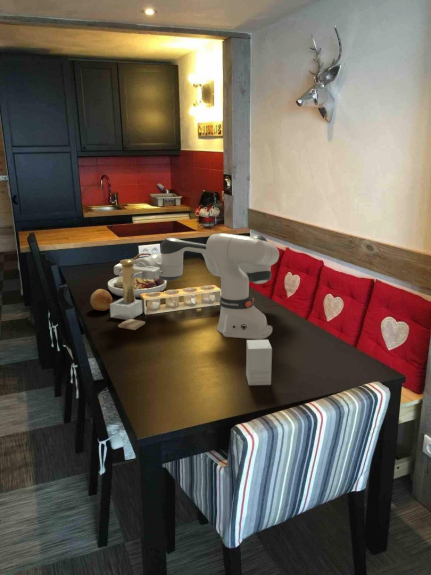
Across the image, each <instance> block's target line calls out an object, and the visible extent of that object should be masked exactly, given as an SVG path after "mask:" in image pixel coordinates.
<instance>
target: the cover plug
mask: <svg viewBox="0 0 431 575" xmlns="http://www.w3.org/2000/svg"><path fill="white" fill-rule="evenodd" d="M119 264H121V265H122V277H123V296H124V297H123V298H124V302H125V303H132V302H135V300H136V298H135V288H134V278H132V274H133V273H134V267H133V264H135V260H132V258H128V259H127V258H125V259H121V260H119Z"/></svg>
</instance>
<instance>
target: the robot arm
mask: <svg viewBox="0 0 431 575" xmlns="http://www.w3.org/2000/svg"><path fill="white" fill-rule="evenodd" d="M159 246H160V247H159V248H160V252H157V253H156V252H155V253H152V254H151V255H147V256H143V257H144V258H139V257H138V258H139V259H132V258H131V259H132V260H135V264H133V267H134V273H133V274H132V278H135V279H136V278H142V279H156V278H158V277H159V278H160V279H162V280H166V281H168V282H172V281H176V280H178V279H179V278H181V277H182V276H183V271H184V270H183V269H184V264H183V263H184V253H185V252H192V253H200V254H201V255H202V256H203V259H204V261H205V265H206V268H207V269H208V271H209V273H210V274H212V275H213V276H215V277H219V278H220V294H221V295H220V297H219V308H220V314H219V319H218V324H217V327H216V329H217V331H218V332H219V333H220V334H222V335H223V337H224V338H225V337H226V338H238V339H247V340H265V339H267V338H268V337H269V336H270V335H271V334H272V333H273V326H272V325H268V321H267V317H266V315H265V314H264V313H263V312H262V311H260V310H259V309H258V308H256V306H254V301H255V298H254V297H251V296H250V295H249V289H250V288H249V287H250V285H249V284H250V283H252V284H257V285H259V284H260V285H262V284H265V283H267V282H269V281H270V280H271V279H272V271H271V268H272V266H273V265H274V264H276V263H277V262H278V261H279V258H280V251H279V249H278V247H276V246H275V245H274V244H273V243H271V242H269V241H268V240H267V238H266V237H264V236H263V235H255V234H254V235H252V236H248V235H241V234H240V235H239V234H235V233H233V234H231V233H224V232H222V233H221V232H220V233H214V234H211V235H210V236H209V237H208V239H207V241H206V243H203V242H202V243H201V242H195V241H189V240H183V239H178V238H175V237H168V238H167V237H166V238H164V240H163V241H162V242H161V243H160V245H159ZM113 274H114V275H116V276H118V277H122V265H121V264H120V263H117V264H115V265H114V266H113Z"/></svg>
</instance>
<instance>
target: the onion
mask: <svg viewBox="0 0 431 575" xmlns="http://www.w3.org/2000/svg"><path fill="white" fill-rule="evenodd" d="M89 301H90V305H91V307H92V308H93V309H94V310H96V311H100V312H105V311H107V310H108V309H110V304H111V303H113V297H112V295H111V292H109V291H107V290H106V289H102V288H99V289H96V290H95V291H94V292H93V293H92V294H91V296H90V300H89Z"/></svg>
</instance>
